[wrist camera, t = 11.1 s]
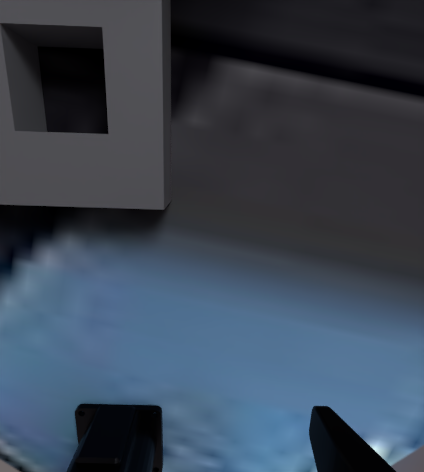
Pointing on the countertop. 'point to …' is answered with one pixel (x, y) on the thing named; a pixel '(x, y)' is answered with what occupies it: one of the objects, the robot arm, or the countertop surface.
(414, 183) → the countertop surface
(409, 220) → the countertop surface
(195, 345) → the countertop surface
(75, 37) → the grey square frame
